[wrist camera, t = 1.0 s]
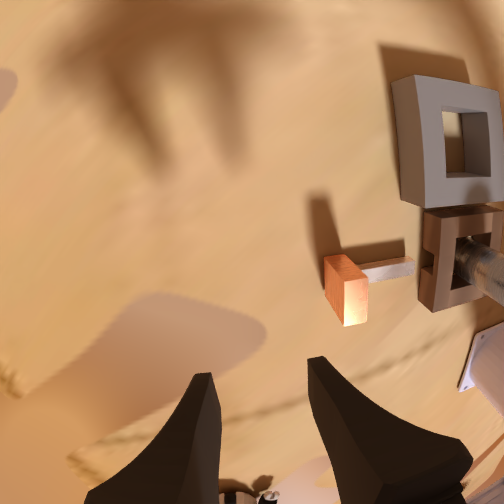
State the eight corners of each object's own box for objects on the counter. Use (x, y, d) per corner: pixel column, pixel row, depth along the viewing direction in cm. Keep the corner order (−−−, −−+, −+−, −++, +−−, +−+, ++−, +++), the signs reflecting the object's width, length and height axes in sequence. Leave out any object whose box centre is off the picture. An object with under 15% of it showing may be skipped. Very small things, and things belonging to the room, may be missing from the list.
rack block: (472, 94, 17) (498, 91, 14) (479, 193, 19) (504, 201, 16) (390, 82, 16) (414, 74, 14) (400, 199, 19) (424, 208, 16)
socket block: (486, 205, 20) (504, 211, 17) (478, 283, 22) (493, 293, 20) (423, 211, 19) (441, 218, 17) (418, 300, 22) (432, 312, 20)
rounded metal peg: (469, 231, 20) (540, 265, 13) (466, 266, 21) (530, 308, 14) (443, 235, 20) (516, 274, 12) (439, 272, 21) (505, 319, 13)
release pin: (408, 243, 20) (440, 263, 16) (406, 280, 21) (435, 304, 17) (323, 256, 20) (344, 281, 16) (325, 295, 20) (343, 326, 17)
